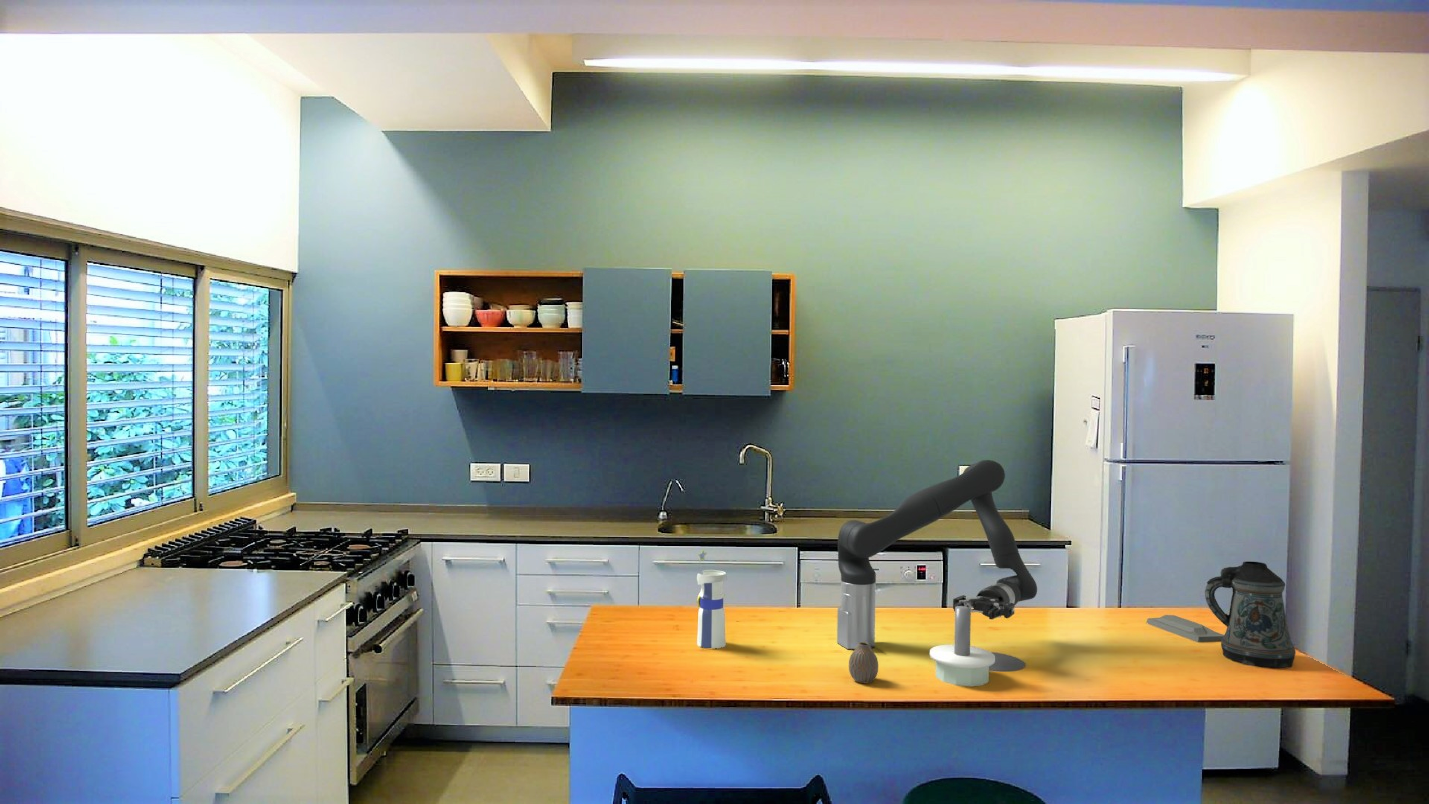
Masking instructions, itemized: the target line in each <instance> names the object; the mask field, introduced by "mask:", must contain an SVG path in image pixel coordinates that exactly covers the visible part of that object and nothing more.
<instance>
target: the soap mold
mask: <svg viewBox="0 0 1429 804" xmlns="http://www.w3.org/2000/svg"><path fill="white" fill-rule="evenodd" d="M1147 623H1148V624H1147ZM1145 624H1147V625H1150V626H1152V627H1155V628H1158V629H1160V630H1163V631H1166V632H1169V633H1172V634H1175V635H1176V636H1180V637H1182V638H1184V639H1188V640H1190V641H1193V642H1195V643H1209V642H1210V643H1211V642H1221V640H1222V639H1223V637H1224V635H1225V634H1223V633H1220V632H1217V631H1214V630H1213V629H1211V628H1209V627H1207V626H1205V625H1203V624H1201V623H1198V622H1195V621H1192V620H1190V619H1187V618H1183V617H1180V616H1179V615H1174V614H1164V615H1162V616H1160V617H1149V618H1147V619H1146V623H1145Z"/></svg>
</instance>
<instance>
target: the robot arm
mask: <svg viewBox="0 0 1429 804" xmlns="http://www.w3.org/2000/svg"><path fill="white" fill-rule="evenodd" d="M1005 478H1006V472H1005V469H1004V467H1003V466H1002V464H1000V463H999V462H997V461H995V460H991V459H983V460H979V461H977V462H975V463H972V464H971V465H968V466H967V467H966V468H965V469H964V471H963V473H961V474H959V475H957V476H955V477H953V478H950V479H947V480H944V481H941V482H938V483H936V484H932V485H929V486H927V487H926V488H923V489H921V490H919V491H916V492H914V493H913V494H911V495H908V496H907V497H906V498H905V499H903V500H902V501H901V502H900V503H899V504H898V506H896V507H895V509H894V510H893V511H892V512H891V513H889V514H888V515H886V516H884V517H881V518H879V519H877V520H875V521H872V522H865V521H861V520H855V519H851V520H848V521H846V522H845V523H844V524H842V526H841V527H840V529H839V532H838V536H837V558H838V559H837V560H838V561H837V564H838V569H839V572H840V607H838V608H837V617H836V618H837V625H836V626H837V627H836V628H837V629H836V631H837V632H836V633H837V634H836V635H837V636H836V638H837V639H836V643H837V644H839V645H840V646H842V647H844V648H845V649H848V650H849V649H850V650H855V649H856V648H857V646H858V644H859V643H861V642H865V643H868V644H869V646H870V648H871V649H872V648H874V647H875V645H876V597H877V596H876V595H877V594H876V591H877V589H876V585H877V584H876V583H877V582H876V581H877V580H876V579H877V573H876V571H875V569H874V568H873V565H872V564H871V562H870V558H873V557H874V556H875V555H877V554H879V553H881V552H882V551H884V550H885V549H886V548H888V547H889V546H891V545H892V544H894V543H895V542H897V541H898V540H900V539H903V538H905V537H906V536H908V535H911V534H913V533H914V532H916V531H919V530H920V529H922V528H924V527H927V526H929V525H931V524H933V523H934V522H937V521H938V520H940V519H942V518H943V517H945V516H947V515H949V514H951V513H952V512H953V511H955V510H957V509H958V508H960V507H961V506H963V505H964V504H966V503H967V502H969V501H970V502H971V504H972V506H973V509H974V511H975V513H976V514H977V517H978V519H979V521H980V523H981V526H982V528H983V530H984V534H985V535H986V538H987V542H988V545H989V549H990V551H991V554H992V558H993V561H994V564H995V566H996V567H997V568H998V569H1007V570H1008V569H1010V570H1012V571H1013V572H1014V573H1015V574H1014V575H1012V576H1006V577H1002V578H1000V579H997V580H996V583H994V584H991V585H989V586H987V587H985V588H983V589H981V590H979V591H978V593H977V595H976V596H975V597H967V595H959V596H957V597H955V598H953V599H952V609H953V611H954V612H955V607H956V606H966V607H970V608H971V613H979V614H982V616H983V615H984V616H985V617H987V618H988V619H989V620H994V619H997V618H1002V616H1003V617H1004V618H1005V619H1010V618H1011V617H1012V616H1013V615H1015V606H1016V605H1017V604H1018V603H1019V602H1025V601H1029V600H1033V599H1034V598H1036V596H1037V594H1038V593H1037V592H1038V585H1037V583H1036V580H1035V579H1034V577H1033V575H1032V574H1031V572H1030V571H1029V570H1028V568H1027V567H1026V565H1025V563H1024V561H1023V559H1022V557H1021V554H1020V551H1019V548H1018V545H1017V542H1016V540H1015V536H1014V534H1013V532H1012V530H1011V529H1010V527H1009V525H1008V524H1007V523H1006V521H1005V520H1004V519H1003V517H1002V516H1001V514H1000V512H999V511H998V509H997V506H996V504H995V502H994V496H993V492H995V491H998V490H999V489H1000V488H1001V487H1002V485H1003V484H1004V483H1005Z"/></svg>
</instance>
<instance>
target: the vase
mask: <svg viewBox="0 0 1429 804" xmlns="http://www.w3.org/2000/svg"><path fill="white" fill-rule="evenodd" d="M848 670H849V674H850V677H851V678H852V679H853V680H854V681H855V682H856V683H859V684H871V683H872V682H873V681H874V680H875V679H876V678H877V676H878V672H879V661H878V657H877V655H876V654H875V652H874V651H873V649H872V648H870V646H869V644H868V643H865V642H861V643H859V644H858V646H857V648H856V649H853V651H852V653H851V654H850V656H849V659H848Z"/></svg>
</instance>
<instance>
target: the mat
mask: <svg viewBox="0 0 1429 804" xmlns="http://www.w3.org/2000/svg"><path fill="white" fill-rule="evenodd" d="M990 652H991V653H993V654H994V655H995V663H994V664H993V665H991V666H989V672H990V671H991V672H1002V673H1003V672H1005V673H1006V672H1016V671H1021V670H1023V669H1025V667H1026V662H1024V660H1022V659H1020V658H1018V657H1016V656H1014V655H1010V654H1006V653H1000V652H994V651H990Z"/></svg>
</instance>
